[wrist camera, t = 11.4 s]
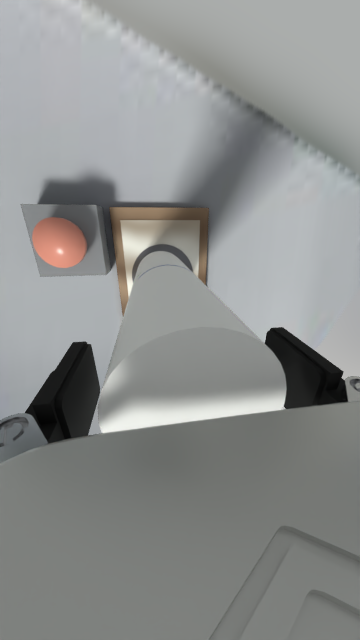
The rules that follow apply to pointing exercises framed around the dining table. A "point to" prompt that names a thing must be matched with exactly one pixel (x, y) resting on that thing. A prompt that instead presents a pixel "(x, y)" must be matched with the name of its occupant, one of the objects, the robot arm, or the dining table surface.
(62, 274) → the button housing
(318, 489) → the robot arm
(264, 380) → the cylindrical container
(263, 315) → the dining table surface
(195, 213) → the sketch board
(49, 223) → the button
